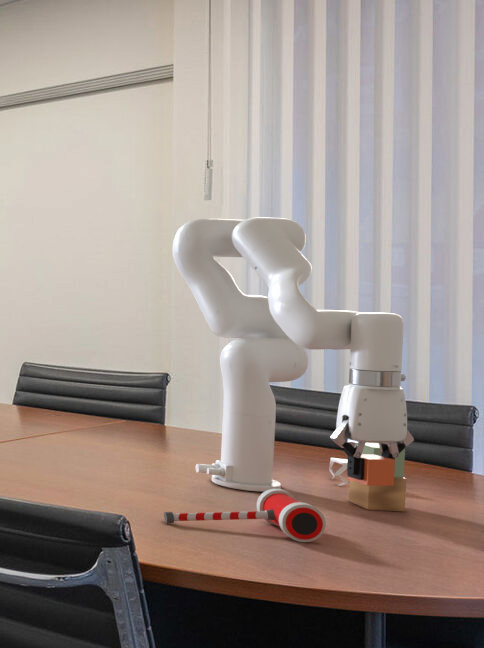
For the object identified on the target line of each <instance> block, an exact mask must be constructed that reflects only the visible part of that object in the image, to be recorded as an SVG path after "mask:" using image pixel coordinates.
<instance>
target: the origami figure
mask: <svg viewBox="0 0 484 648" xmlns="http://www.w3.org/2000/svg"><path fill="white" fill-rule="evenodd" d="M347 459H348V458H337V457H330V461H329V465H328V471H329V473H330V474H331V475H332V478H331V480H335V478H336V477H337V478H338V479H340V480H341V481H342V482H341V483H338V484H337V486H338V487H339V486H340V487H342V486H344V485H347V484H348V483H349V480H347V479H346V478H345V477H344V476H342V474H343V473H344V472H345V471H347ZM335 463H336V464H340V465H341V466H340V467H339V469H337V470H336V471H335V472H334V471H333V465H334V464H335Z"/></svg>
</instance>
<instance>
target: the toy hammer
mask: <svg viewBox="0 0 484 648" xmlns="http://www.w3.org/2000/svg"><path fill="white" fill-rule="evenodd" d="M163 518H164V519H163V520H164V522H165V524H174V523H175V522H193V521H194V522H195V521H197V522H199V521H231V520H232V521H237V520H239V521H240V520H264V521H266V522H267V523H268V524H271V525H273V526H278V527H279V528H280V529H281V531H282V532H283V534H284V535H286V536H287V537H288V538H290V539H292V540H294V541H295V542H299V543H310V542H314V541H316V540H318V539H319V538H320V537H321V536H322V535H323V534H324V532H325V531H326V525H327V523H326V519H325V516H324V514H323V513H322V511H320V510H319V509H318V508H317V507H315V506H313V505H311V504H310V503H307V502H302V501H299V499H298V498H297V497H296V496H295V495H294V494H292V493H290V492H289V491H287V490H285V489H282V488H281V489H276V488H275V489H269V490H267V491H265V492H262V493H261V494H260V495H259V496H258V498H257V500H256V511H255V510H253V511H250V510H249V511H225V512H224V511H218V512H217V511H216V512H215V511H213V512H181V513H173V511H164V512H163Z"/></svg>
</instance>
